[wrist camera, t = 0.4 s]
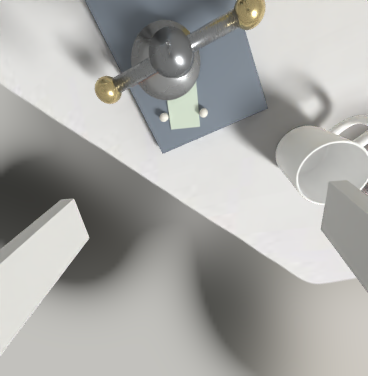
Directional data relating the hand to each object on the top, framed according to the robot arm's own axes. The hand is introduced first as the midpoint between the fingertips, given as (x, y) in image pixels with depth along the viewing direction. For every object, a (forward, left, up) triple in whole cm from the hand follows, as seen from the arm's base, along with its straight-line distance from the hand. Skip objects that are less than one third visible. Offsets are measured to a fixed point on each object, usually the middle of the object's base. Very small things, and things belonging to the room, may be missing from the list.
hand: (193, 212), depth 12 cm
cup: (+9, +14, -26) cm, 31 cm away
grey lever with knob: (-10, 0, -24) cm, 26 cm away
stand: (-10, 0, -26) cm, 28 cm away
